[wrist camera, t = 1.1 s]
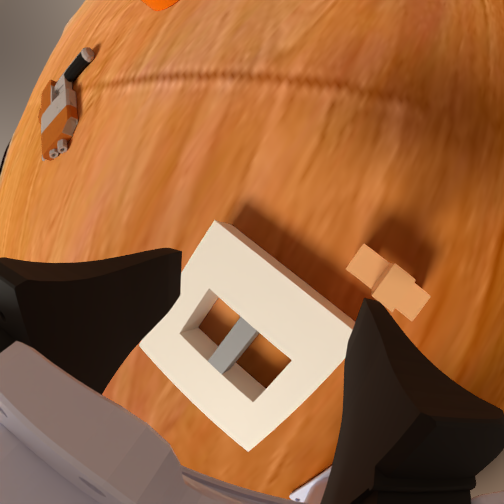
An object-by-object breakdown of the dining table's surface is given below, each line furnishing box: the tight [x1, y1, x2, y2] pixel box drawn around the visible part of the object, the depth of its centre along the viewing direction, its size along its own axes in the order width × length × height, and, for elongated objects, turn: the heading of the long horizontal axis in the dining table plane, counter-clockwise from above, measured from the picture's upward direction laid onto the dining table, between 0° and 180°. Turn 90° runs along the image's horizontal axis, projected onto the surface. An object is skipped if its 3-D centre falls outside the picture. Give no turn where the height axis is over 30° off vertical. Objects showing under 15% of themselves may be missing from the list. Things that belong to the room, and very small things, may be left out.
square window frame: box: [139, 220, 355, 451], centre depth 24 cm, size 14×14×3 cm
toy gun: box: [38, 47, 95, 161], centre depth 38 cm, size 3×19×15 cm
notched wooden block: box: [346, 244, 431, 321], centre depth 17 cm, size 6×2×8 cm, turn 53°
